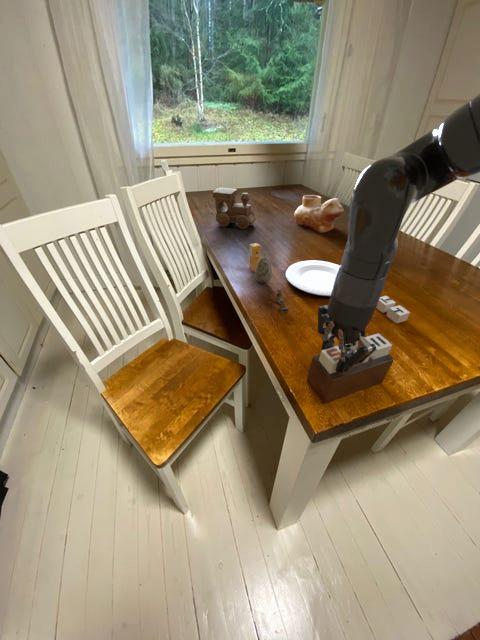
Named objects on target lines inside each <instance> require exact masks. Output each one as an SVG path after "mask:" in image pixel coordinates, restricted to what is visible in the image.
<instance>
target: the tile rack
mask: <svg viewBox="0 0 480 640" xmlns="http://www.w3.org/2000/svg"><path fill="white" fill-rule="evenodd" d="M320 354H321V353H320ZM320 354H319V353H318V354H315V355H312V358H311V362H310V365H309V370H308V374H307V376H306V377H307V378H306V381H307V383H308V384H309V385H310V387H311V388H312V389H313V391H314V392H315V393H316V395H317V396H318V398H319V399H320V400H321V401H322V403H323V404H324V405H325V404H328V403H330V402H334V401H336V400H338V399H339V400H340V399H341V398H344V397H348V396H350V395H353V394H355V393H358V392H361V391H363V390H366V389H369V388H372V387H374V386H377V385H380V384H383V382H384V380H385V378H386V376H387V375H388V373H389V370H390V369H391V367H392V365H393V362H394V361H395V358H394V357H393V356H392V355H391V354H389V353H388V355H386V356H383V357H380V358H377V359H374V360H373V359H372V358H371V357H369V359H368V361H367V362H365V363H362V364H359V365H356V366H353V367H352V366H351V367H349V370H348V371H346V372H343V373H337V372H335V373H332V374H329V372H328V371H327V370H326V369H325V367H324V366H323V365H322V364H321V363H320V361H319V358H320Z"/></svg>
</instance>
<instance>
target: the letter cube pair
mask: <svg viewBox="0 0 480 640" xmlns="http://www.w3.org/2000/svg"><path fill="white" fill-rule="evenodd" d="M396 303H397V302H396V301H394V300H393V298H391V297H389V296H387V295H383V296H381V297H380V299H379V302H378V304H377V307H376V309H377V310H378V312H381V314H383V313H386V317H387V318H388V319H390V321H392V322H393V323H394V324H399V323H402V322H406V321H407V320H408V318H409V316H410V314H411V312H410V311H409V310H407V309H406V308H405V307H403V306H402V305H400V304H399V305H396Z"/></svg>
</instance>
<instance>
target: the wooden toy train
mask: <svg viewBox="0 0 480 640" xmlns="http://www.w3.org/2000/svg"><path fill="white" fill-rule="evenodd" d="M237 196H238V189H237V188H234V187H217V188H216V189H214V190H213V191H212V198H213V199H214V204H215V211H216V214H215V221H216V222H217V223H218V225H219V226H220V227H224V228H226V227H228V226H229V225H230V223H231V224H235V225H236V226H237V227H238V228H239V229H241V230H246V229H247V228H249V227H250V226H253V224H254V223H255V222H256V219H257V218H256V217H255V214H254V212H253V211H252V204H248V203H249V201H250V199H251V197H250V194H249V193H248V192H242V194H241V195H240V201H241V202H236V197H237ZM225 204H226V205H225Z"/></svg>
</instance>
